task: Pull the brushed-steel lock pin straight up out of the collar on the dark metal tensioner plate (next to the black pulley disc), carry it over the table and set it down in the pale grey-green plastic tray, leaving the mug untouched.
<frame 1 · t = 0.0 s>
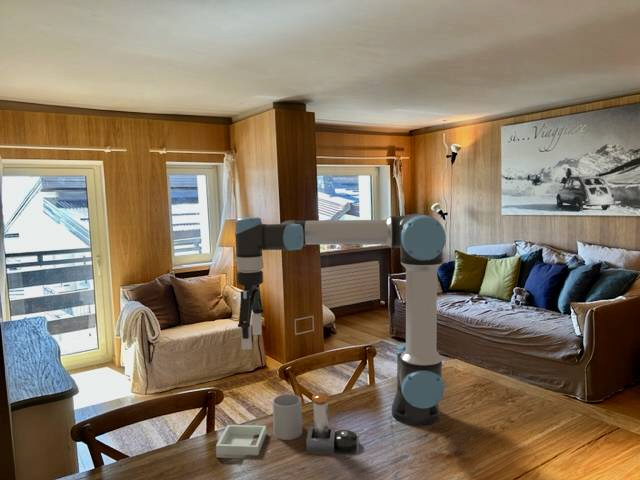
hand: (252, 341, 142), 28 cm above the table, fingers open, 13 cm apart
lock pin: (321, 443, 135), point 1 cm above the table, touching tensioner
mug: (288, 433, 144), on the table
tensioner: (333, 447, 135), on the table
tray: (242, 446, 137), on the table
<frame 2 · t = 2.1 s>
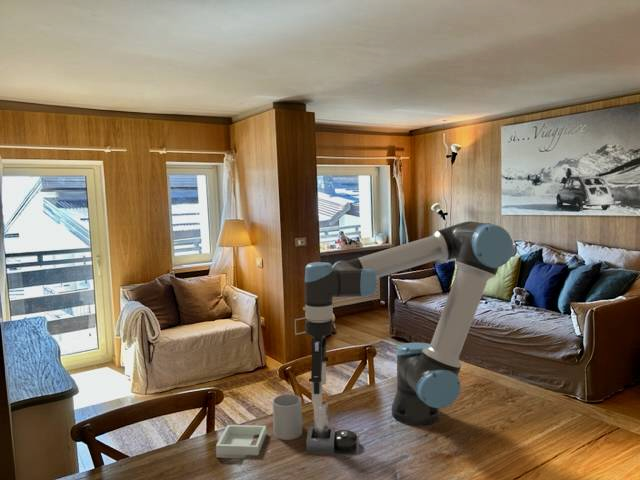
hand: (319, 393, 134), 16 cm above the table, fingers open, 13 cm apart
nothing on the table moved.
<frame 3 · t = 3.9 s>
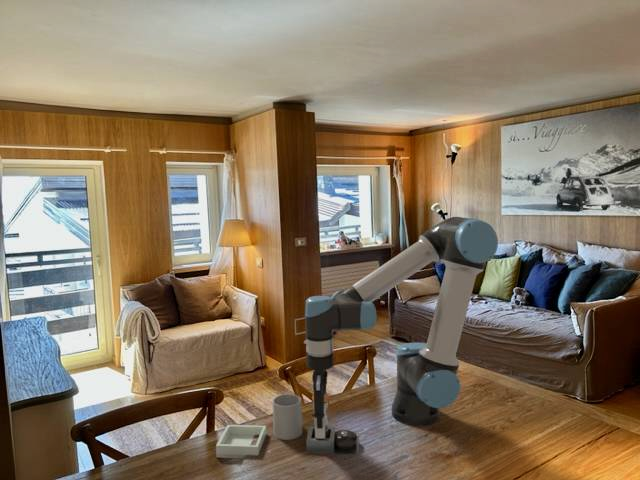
hand: (321, 432, 135), 4 cm above the table, fingers closed on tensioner, 5 cm apart
nothing on the table moved.
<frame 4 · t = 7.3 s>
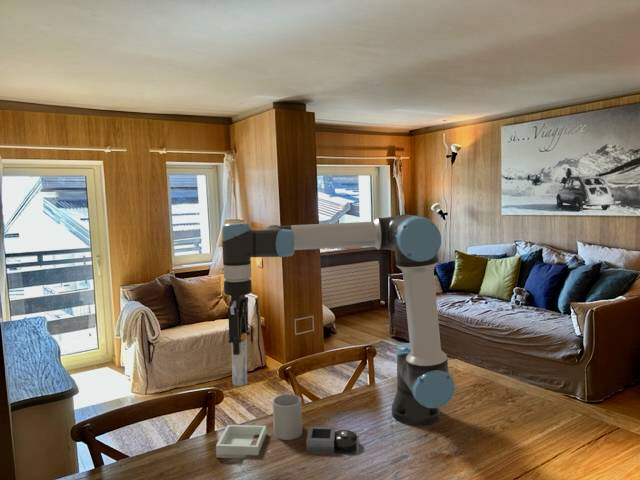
hand: (240, 361, 134), 25 cm above the table, fingers closed on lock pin, 4 cm apart
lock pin: (239, 382, 134), point 19 cm above the table, touching gripper
everything else where it was.
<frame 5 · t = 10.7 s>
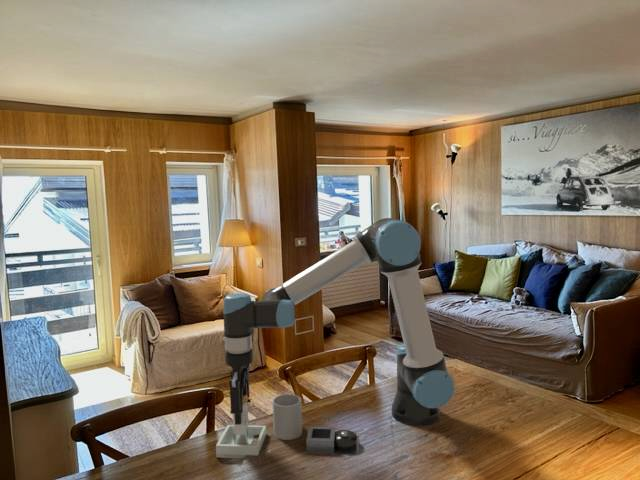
hand: (241, 429, 136), 5 cm above the table, fingers closed on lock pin, 4 cm apart
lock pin: (240, 444, 136), point 1 cm above the table, touching gripper, tray
everything else where it was.
when the fingers open (5 cm above the table, at t = 10.7 s): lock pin stays where it is, resting on tray.
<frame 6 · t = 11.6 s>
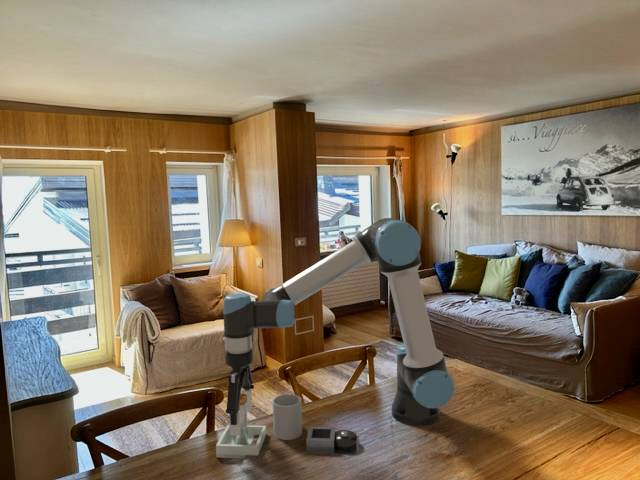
hand: (241, 422, 136), 7 cm above the table, fingers open, 13 cm apart
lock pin: (240, 444, 136), point 1 cm above the table, touching tray
everything else where it was.
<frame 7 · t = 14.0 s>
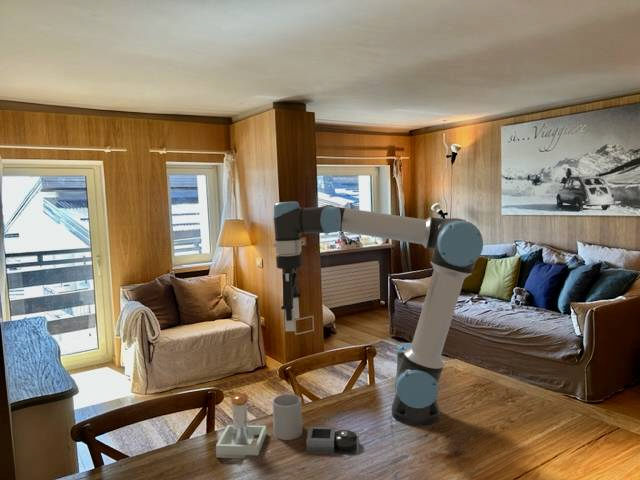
hand: (292, 324, 144), 32 cm above the table, fingers open, 13 cm apart
nothing on the table moved.
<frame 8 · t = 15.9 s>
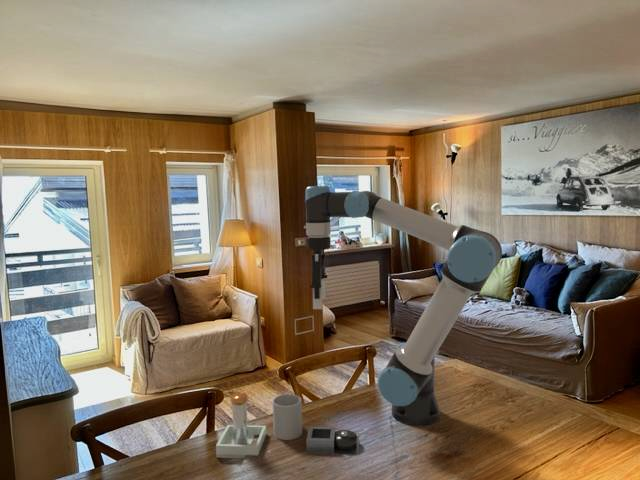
hand: (319, 303, 151), 37 cm above the table, fingers open, 13 cm apart
nothing on the table moved.
at the end: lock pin inside the target area on the tray (0.4 cm from its centre), point 0.8 cm above the tray's base; the gripper is holding nothing; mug moved 0.2 cm from its start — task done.
